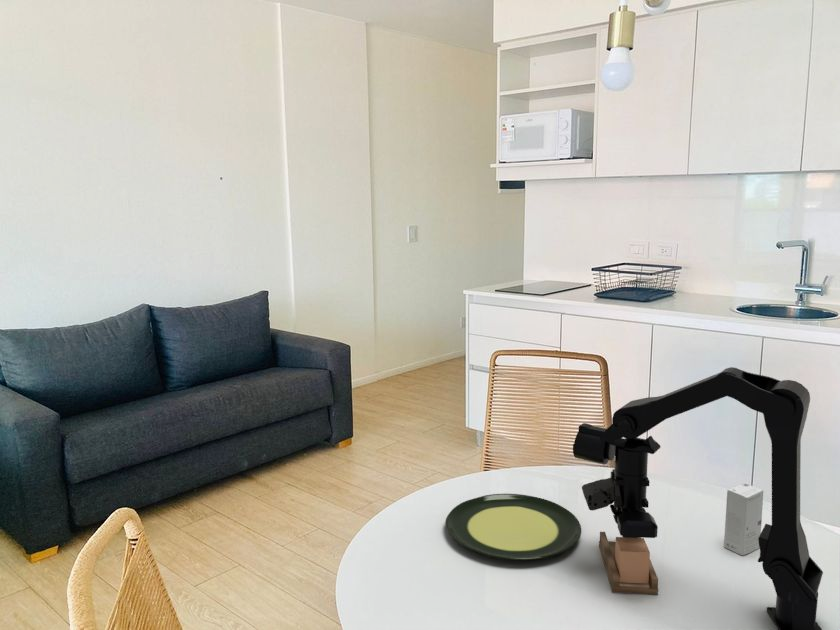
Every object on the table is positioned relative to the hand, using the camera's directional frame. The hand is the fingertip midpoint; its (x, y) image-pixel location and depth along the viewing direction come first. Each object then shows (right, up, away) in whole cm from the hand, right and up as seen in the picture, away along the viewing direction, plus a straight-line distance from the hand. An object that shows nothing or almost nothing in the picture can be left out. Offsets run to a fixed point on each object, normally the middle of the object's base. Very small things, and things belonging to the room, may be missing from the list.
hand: (627, 548), depth 123 cm
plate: (-20, -2, +15) cm, 25 cm away
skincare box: (+25, -3, +7) cm, 26 cm away
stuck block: (-1, -3, -4) cm, 5 cm away
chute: (0, -4, 0) cm, 4 cm away
